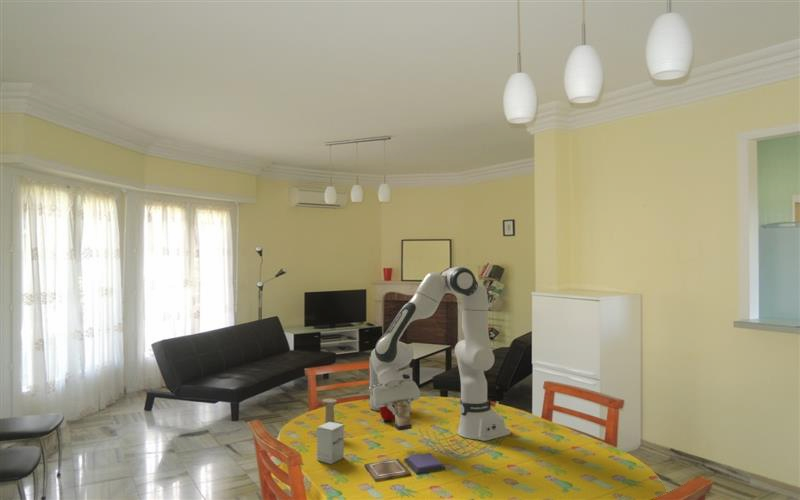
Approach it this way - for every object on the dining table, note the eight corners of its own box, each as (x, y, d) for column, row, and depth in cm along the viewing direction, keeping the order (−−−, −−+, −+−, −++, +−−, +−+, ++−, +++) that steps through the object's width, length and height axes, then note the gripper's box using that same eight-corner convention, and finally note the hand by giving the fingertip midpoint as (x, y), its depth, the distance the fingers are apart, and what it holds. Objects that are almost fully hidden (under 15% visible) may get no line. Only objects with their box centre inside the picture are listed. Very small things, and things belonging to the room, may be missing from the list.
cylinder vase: (367, 411, 249) (367, 359, 249) (373, 403, 261) (372, 354, 262) (392, 412, 247) (392, 360, 247) (397, 404, 259) (396, 355, 259)
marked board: (398, 460, 189) (398, 458, 189) (411, 475, 177) (411, 472, 177) (364, 466, 184) (364, 463, 184) (375, 481, 172) (375, 478, 172)
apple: (387, 425, 228) (387, 400, 228) (374, 420, 236) (374, 396, 236) (404, 420, 235) (404, 396, 235) (390, 415, 242) (390, 392, 242)
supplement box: (331, 464, 186) (331, 430, 186) (316, 460, 190) (316, 426, 190) (344, 457, 192) (344, 424, 193) (329, 453, 196) (329, 420, 196)
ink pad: (431, 456, 192) (431, 451, 192) (445, 469, 181) (445, 464, 181) (404, 461, 189) (404, 456, 189) (416, 474, 177) (416, 468, 177)
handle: (332, 439, 212) (331, 403, 212) (320, 436, 215) (319, 400, 215) (339, 435, 216) (339, 400, 216) (327, 432, 219) (327, 397, 219)
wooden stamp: (406, 424, 204) (405, 399, 204) (411, 428, 198) (411, 402, 198) (393, 426, 202) (392, 400, 202) (398, 430, 197) (397, 404, 197)
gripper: (369, 381, 201) (381, 413, 193) (414, 374, 211) (427, 404, 202) (365, 390, 205) (376, 421, 197) (409, 382, 215) (422, 412, 206)
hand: (402, 412), depth 200 cm, fingers closed on wooden stamp, 5 cm apart
